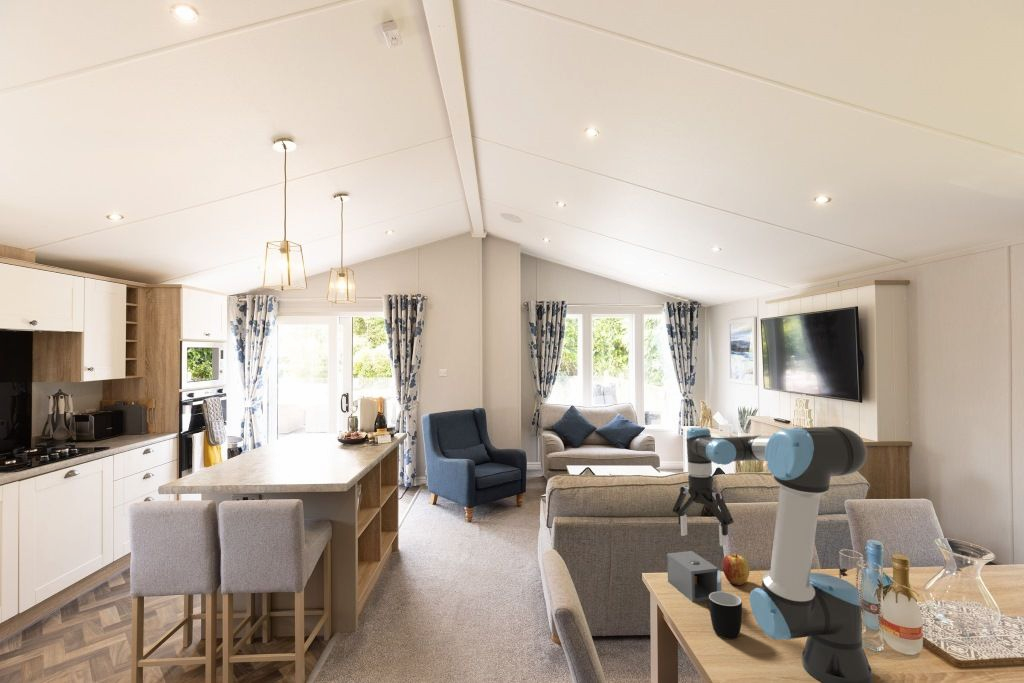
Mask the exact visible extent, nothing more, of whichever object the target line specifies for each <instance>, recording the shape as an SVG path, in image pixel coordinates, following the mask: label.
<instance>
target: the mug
mask: <svg viewBox="0 0 1024 683" xmlns="http://www.w3.org/2000/svg"><path fill="white" fill-rule="evenodd" d="M707 601H708V602H707V606H708V610H709V615H710V621H711V624H712V629H713V631H714V634H716V635H717V636H718V637H720V638H723V639H727V640H735V639H737V638H738V637H739V636H740V633H741V628H742V622H743V621H742V618H743V602H742V599H741V597H740V596H738V595H736V594H733V593H731V592H727V591H722V592H713V593H711V594H710V595H709V600H707Z"/></svg>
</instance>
